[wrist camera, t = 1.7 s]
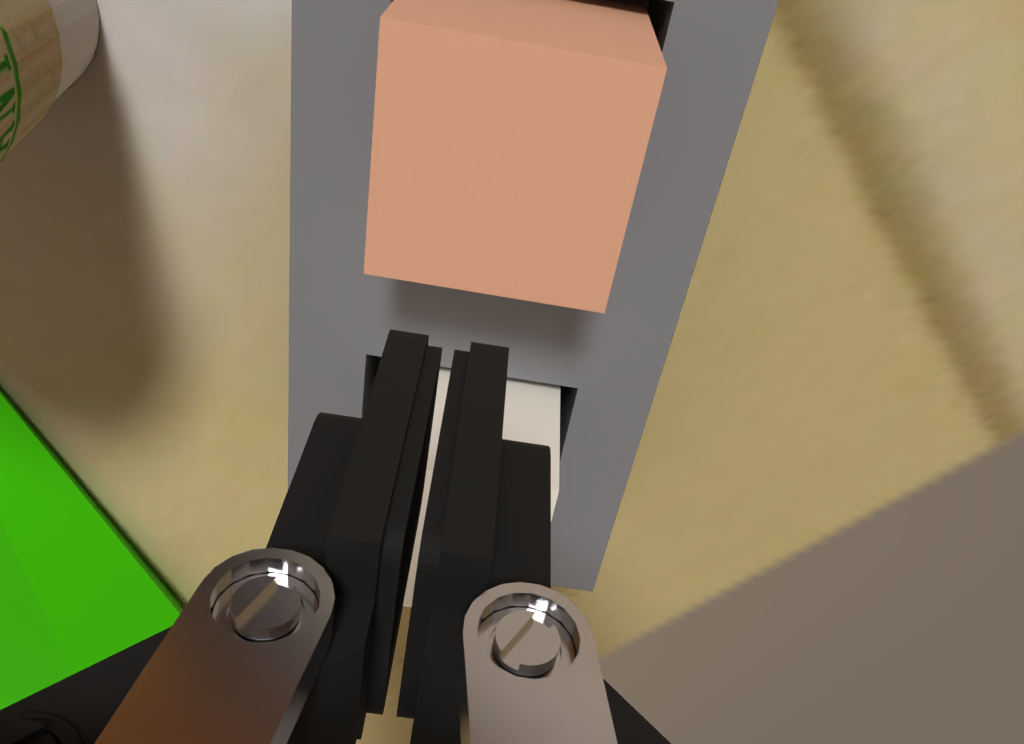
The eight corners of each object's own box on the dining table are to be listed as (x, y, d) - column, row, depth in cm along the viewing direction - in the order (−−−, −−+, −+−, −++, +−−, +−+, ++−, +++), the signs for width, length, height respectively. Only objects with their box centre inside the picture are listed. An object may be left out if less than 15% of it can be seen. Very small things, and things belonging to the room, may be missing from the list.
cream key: (560, 372, 29) (559, 490, 24) (531, 498, 33) (524, 624, 28) (388, 344, 29) (351, 458, 24) (376, 474, 32) (342, 597, 28)
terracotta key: (645, 6, 23) (667, 67, 18) (597, 213, 26) (604, 313, 21) (421, -34, 22) (380, 16, 17) (402, 180, 26) (363, 273, 21)
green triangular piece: (-241, 234, 35) (12, 680, 46) (-328, 267, 31) (-23, 759, 41) (37, 174, 37) (222, 619, 47) (-3, 197, 32) (212, 688, 42)
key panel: (760, -116, 25) (807, -93, 20) (589, 487, 38) (592, 591, 33) (349, -194, 24) (293, -190, 19) (324, 446, 38) (287, 545, 33)
